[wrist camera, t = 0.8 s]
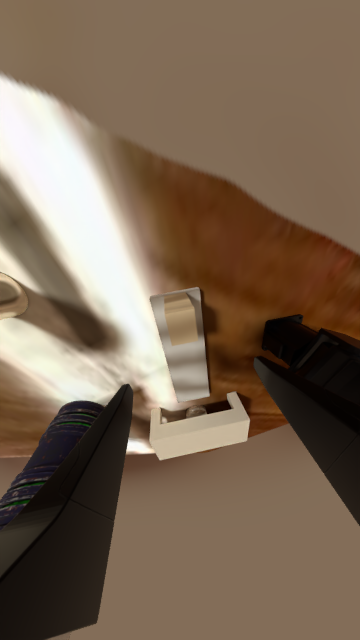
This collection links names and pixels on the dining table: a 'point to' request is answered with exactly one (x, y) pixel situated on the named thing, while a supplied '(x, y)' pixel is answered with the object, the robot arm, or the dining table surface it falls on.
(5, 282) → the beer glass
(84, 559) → the robot arm
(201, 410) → the disc
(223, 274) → the dining table surface
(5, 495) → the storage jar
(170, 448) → the cream bridge block
